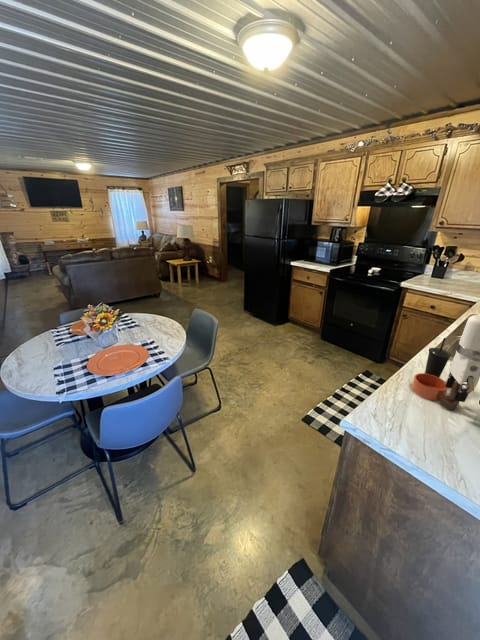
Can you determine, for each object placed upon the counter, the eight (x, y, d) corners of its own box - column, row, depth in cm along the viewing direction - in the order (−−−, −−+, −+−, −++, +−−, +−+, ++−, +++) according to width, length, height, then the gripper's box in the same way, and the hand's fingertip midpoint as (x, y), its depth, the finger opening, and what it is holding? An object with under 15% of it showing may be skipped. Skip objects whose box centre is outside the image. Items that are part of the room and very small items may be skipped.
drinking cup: (439, 377, 115) (453, 336, 107) (443, 387, 108) (459, 344, 101) (418, 372, 118) (431, 332, 110) (421, 382, 111) (435, 340, 103)
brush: (453, 403, 99) (463, 379, 95) (458, 412, 95) (469, 387, 90) (438, 400, 100) (447, 376, 96) (443, 409, 96) (453, 384, 92)
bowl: (438, 386, 109) (442, 376, 107) (448, 403, 99) (453, 392, 97) (408, 381, 112) (411, 371, 110) (415, 397, 102) (419, 386, 100)
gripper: (499, 366, 80) (478, 412, 87) (472, 341, 95) (456, 382, 102) (469, 362, 82) (451, 407, 89) (448, 338, 97) (434, 378, 104)
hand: (454, 393), depth 95 cm, fingers open, 7 cm apart
